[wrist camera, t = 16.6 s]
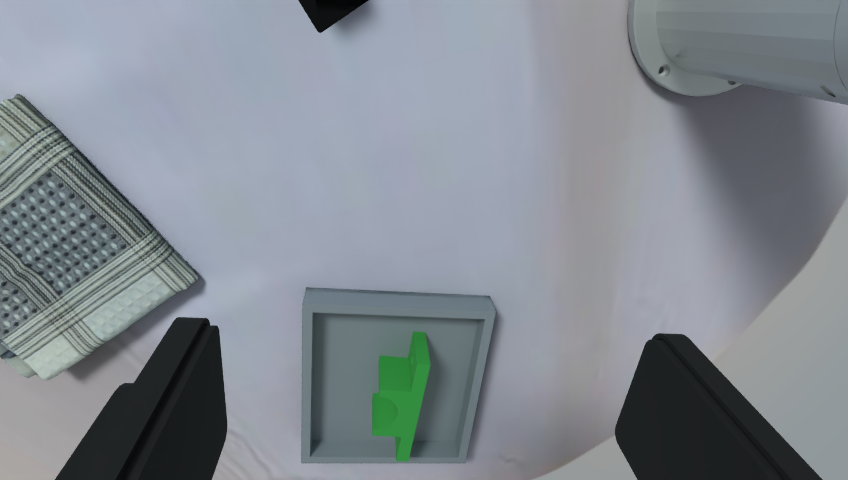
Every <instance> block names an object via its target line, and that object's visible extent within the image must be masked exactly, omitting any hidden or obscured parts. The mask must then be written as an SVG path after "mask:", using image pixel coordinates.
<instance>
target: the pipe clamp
mask: <svg viewBox="0 0 848 480" xmlns="http://www.w3.org/2000/svg"><path fill="white" fill-rule="evenodd" d="M429 370H430V359H429V352H428V346H427V340H426V333H425V332H415V331H413V335H412V340H411V344H410V349H409V354H408V358H405V357H393V356H381V355H380V357H379V393H373V397H372V436H388V437H395V448H396V461H402V462H408V461H409V456H410V452H411V448H412V443H413V439H414V435H415V430H416V426H417V422H418V417H419V413H420V409H421V404H422V400H423V396H424V391H425V387H426V383H427V378H428V374H429Z"/></svg>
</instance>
